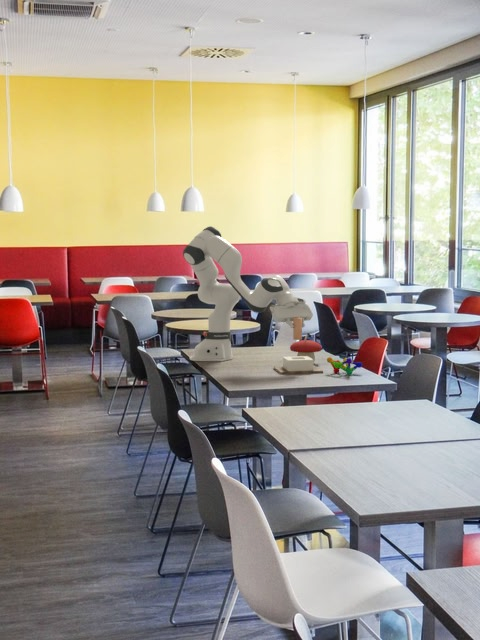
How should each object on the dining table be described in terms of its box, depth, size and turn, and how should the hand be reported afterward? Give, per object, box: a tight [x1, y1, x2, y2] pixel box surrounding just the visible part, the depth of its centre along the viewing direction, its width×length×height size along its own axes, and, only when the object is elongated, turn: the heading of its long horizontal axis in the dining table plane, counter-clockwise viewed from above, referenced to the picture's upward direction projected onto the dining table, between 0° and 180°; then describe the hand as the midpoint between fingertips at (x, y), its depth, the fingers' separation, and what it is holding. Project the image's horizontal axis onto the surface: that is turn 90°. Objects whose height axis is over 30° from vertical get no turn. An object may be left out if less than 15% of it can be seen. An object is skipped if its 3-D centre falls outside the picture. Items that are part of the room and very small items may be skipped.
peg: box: [292, 318, 303, 341], centre depth 397 cm, size 4×4×10 cm
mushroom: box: [289, 332, 323, 362], centre depth 421 cm, size 16×16×15 cm
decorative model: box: [326, 356, 363, 376], centre depth 389 cm, size 13×9×15 cm
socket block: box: [282, 356, 315, 371], centre depth 399 cm, size 12×12×5 cm
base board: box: [273, 365, 324, 375], centre depth 399 cm, size 20×16×1 cm
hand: (298, 327), depth 396 cm, fingers closed on peg, 4 cm apart
